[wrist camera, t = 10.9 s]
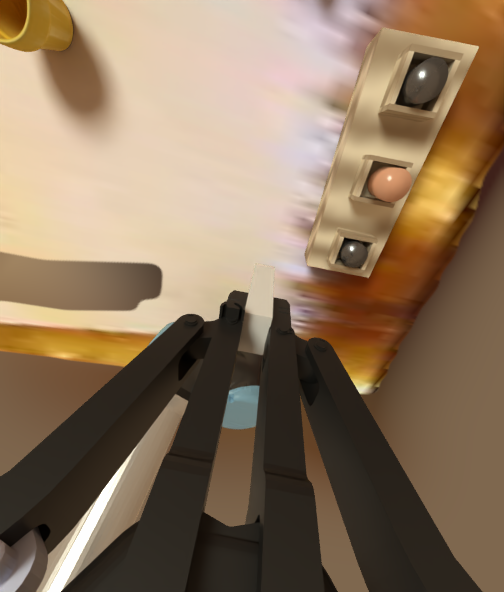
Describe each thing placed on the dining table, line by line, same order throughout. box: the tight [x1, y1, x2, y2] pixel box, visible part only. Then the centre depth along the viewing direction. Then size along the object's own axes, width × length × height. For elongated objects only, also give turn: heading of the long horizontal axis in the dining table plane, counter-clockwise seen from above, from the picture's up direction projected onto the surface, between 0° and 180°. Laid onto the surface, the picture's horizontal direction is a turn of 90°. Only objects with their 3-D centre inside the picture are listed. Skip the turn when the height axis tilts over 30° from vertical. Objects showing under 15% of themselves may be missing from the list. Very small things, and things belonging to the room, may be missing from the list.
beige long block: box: [305, 28, 479, 278], centre depth 38 cm, size 32×12×10 cm, turn 170°
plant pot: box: [0, 0, 73, 52], centre depth 32 cm, size 10×10×10 cm
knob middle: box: [367, 167, 412, 202], centre depth 32 cm, size 4×4×4 cm
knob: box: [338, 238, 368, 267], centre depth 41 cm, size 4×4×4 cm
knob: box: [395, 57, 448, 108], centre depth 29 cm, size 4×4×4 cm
